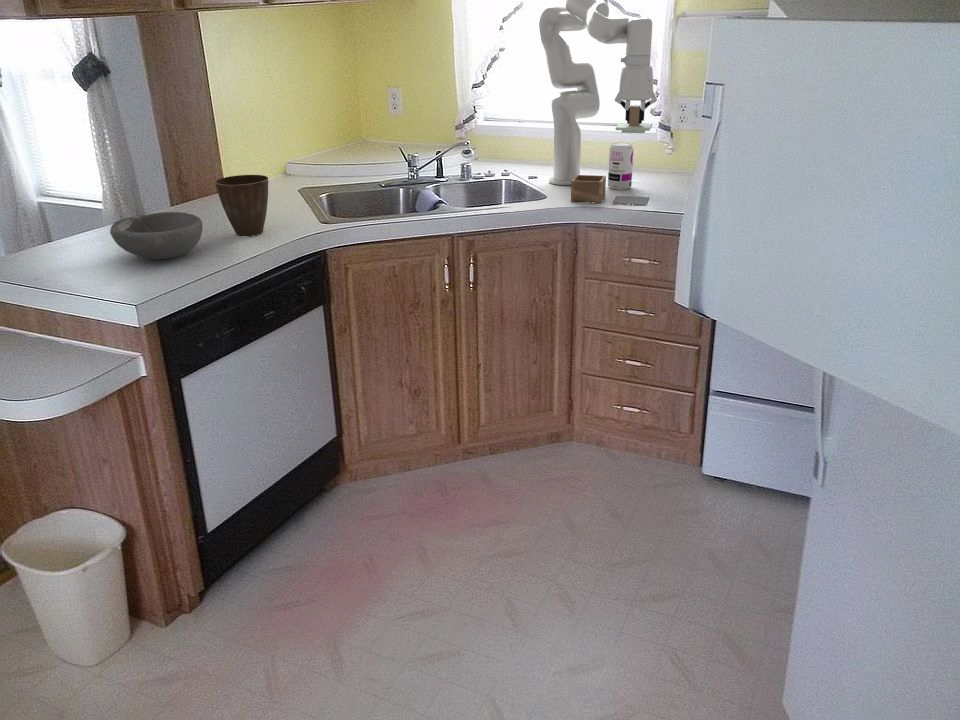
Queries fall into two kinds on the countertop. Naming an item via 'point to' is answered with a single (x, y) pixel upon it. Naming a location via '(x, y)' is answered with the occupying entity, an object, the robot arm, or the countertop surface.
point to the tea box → (588, 188)
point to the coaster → (630, 200)
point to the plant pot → (244, 202)
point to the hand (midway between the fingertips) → (634, 122)
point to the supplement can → (620, 166)
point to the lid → (634, 122)
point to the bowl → (158, 234)
